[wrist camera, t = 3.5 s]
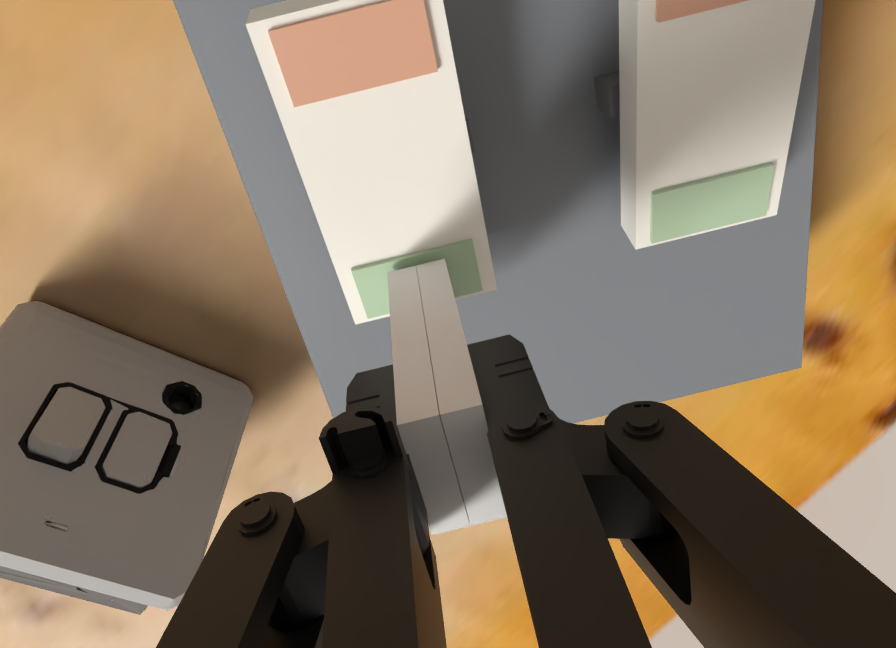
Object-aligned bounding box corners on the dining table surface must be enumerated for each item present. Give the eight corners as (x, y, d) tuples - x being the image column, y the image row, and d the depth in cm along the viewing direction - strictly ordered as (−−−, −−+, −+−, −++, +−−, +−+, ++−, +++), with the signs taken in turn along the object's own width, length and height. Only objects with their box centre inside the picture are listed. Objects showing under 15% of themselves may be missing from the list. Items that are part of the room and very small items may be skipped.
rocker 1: (250, 9, 15) (244, 26, 14) (431, -36, 15) (439, -23, 14) (353, 299, 20) (355, 328, 19) (489, 266, 20) (498, 293, 19)
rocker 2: (617, -82, 14) (640, -65, 13) (804, -129, 14) (841, -115, 13) (620, 225, 20) (637, 253, 19) (755, 192, 20) (779, 218, 19)
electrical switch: (261, 384, 29) (210, 574, 21) (214, 461, 31) (154, 657, 24) (26, 288, 26) (-132, 471, 18) (-6, 382, 28) (-158, 579, 20)
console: (125, -283, 18) (3, -394, 12) (714, -434, 18) (901, -627, 12) (356, 379, 29) (355, 500, 23) (722, 290, 29) (821, 387, 23)
